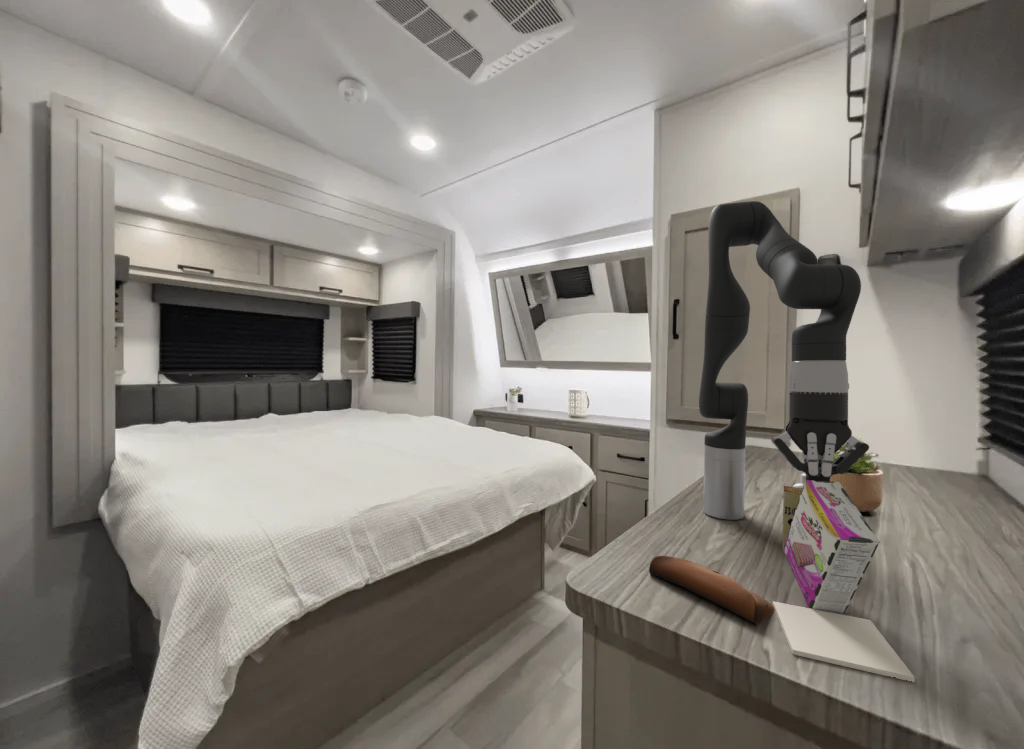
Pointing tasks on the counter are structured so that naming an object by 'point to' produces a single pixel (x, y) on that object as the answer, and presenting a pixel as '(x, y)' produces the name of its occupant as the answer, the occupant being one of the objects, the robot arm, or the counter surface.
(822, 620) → the board
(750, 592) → the sunglasses case
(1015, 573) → the counter surface
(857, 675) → the counter surface
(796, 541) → the candy bar box
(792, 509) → the shoe polish box
